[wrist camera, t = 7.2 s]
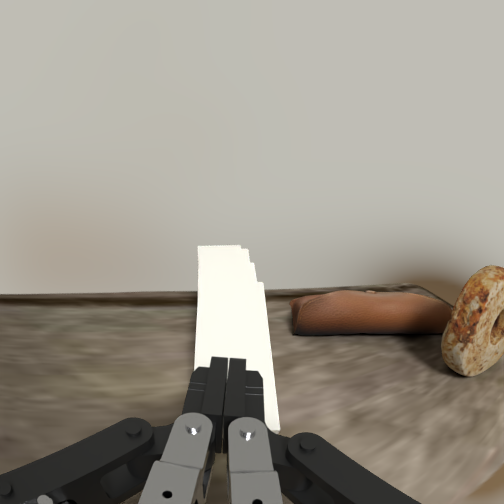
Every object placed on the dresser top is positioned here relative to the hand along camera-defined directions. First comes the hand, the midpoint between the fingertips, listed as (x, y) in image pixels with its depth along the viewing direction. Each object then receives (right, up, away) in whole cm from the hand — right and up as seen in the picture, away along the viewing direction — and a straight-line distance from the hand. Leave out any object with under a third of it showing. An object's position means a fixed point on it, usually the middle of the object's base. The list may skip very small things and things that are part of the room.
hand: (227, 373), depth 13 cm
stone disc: (+22, -6, +11) cm, 25 cm away
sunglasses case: (+14, -3, +20) cm, 25 cm away
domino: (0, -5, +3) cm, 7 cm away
